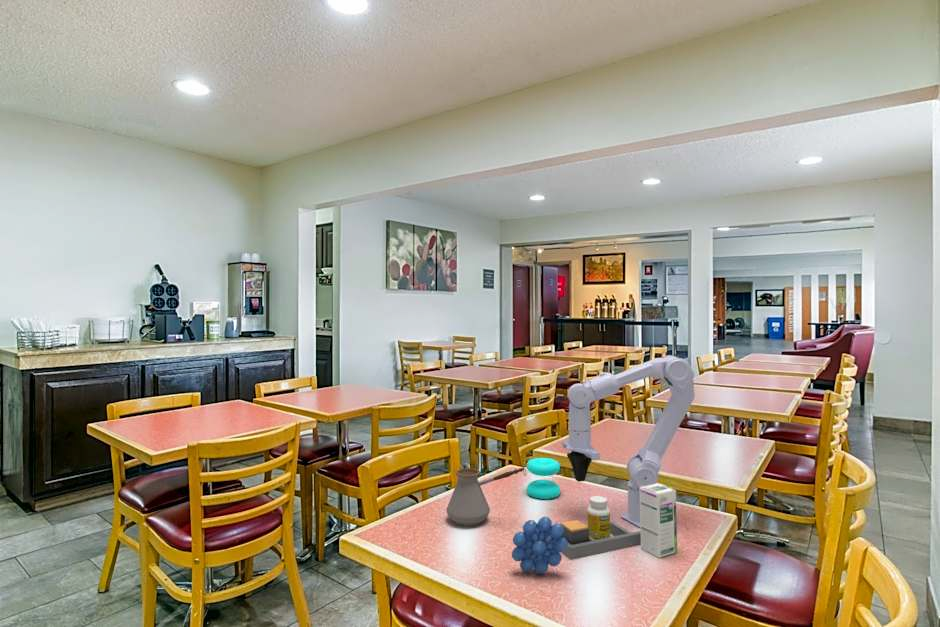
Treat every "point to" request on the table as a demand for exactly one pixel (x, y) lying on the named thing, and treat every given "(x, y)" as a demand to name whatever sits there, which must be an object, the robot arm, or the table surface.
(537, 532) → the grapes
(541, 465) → the donuts
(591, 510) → the supplement bottle
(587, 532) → the grey tray with block
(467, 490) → the coffee pot
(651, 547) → the syrup box
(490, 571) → the table surface
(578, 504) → the table surface
